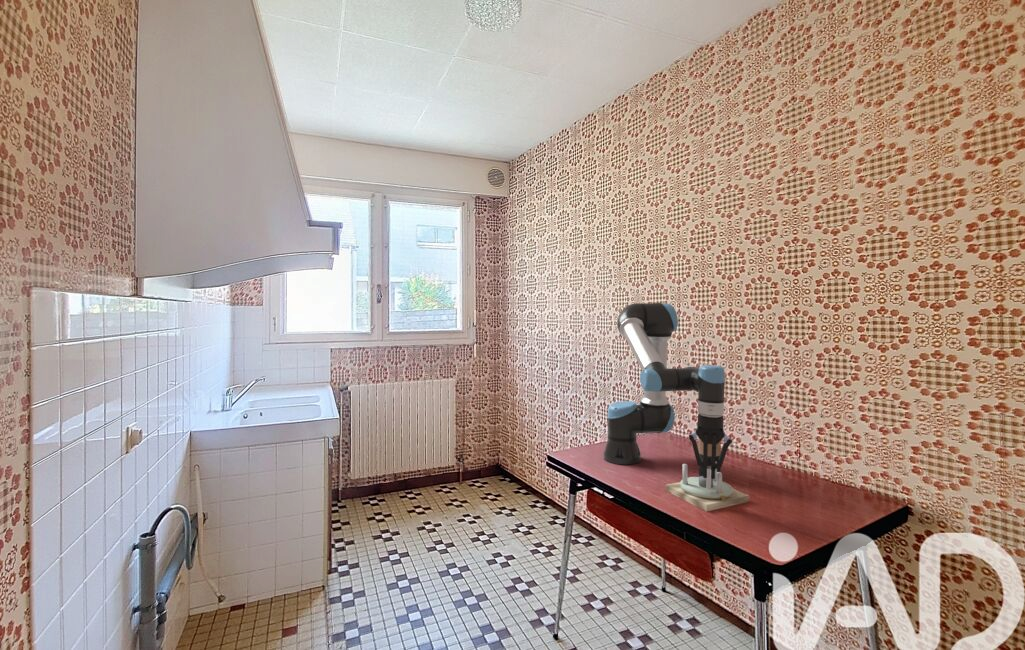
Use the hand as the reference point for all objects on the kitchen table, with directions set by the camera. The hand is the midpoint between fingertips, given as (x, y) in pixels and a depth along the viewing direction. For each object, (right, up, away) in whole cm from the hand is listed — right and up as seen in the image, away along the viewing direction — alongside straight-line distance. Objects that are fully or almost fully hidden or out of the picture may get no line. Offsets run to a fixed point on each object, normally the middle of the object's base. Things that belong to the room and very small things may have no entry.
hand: (708, 488), depth 145 cm
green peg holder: (+2, -3, +6) cm, 7 cm away
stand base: (+2, -5, +6) cm, 8 cm away
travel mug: (+11, -4, +24) cm, 27 cm away
